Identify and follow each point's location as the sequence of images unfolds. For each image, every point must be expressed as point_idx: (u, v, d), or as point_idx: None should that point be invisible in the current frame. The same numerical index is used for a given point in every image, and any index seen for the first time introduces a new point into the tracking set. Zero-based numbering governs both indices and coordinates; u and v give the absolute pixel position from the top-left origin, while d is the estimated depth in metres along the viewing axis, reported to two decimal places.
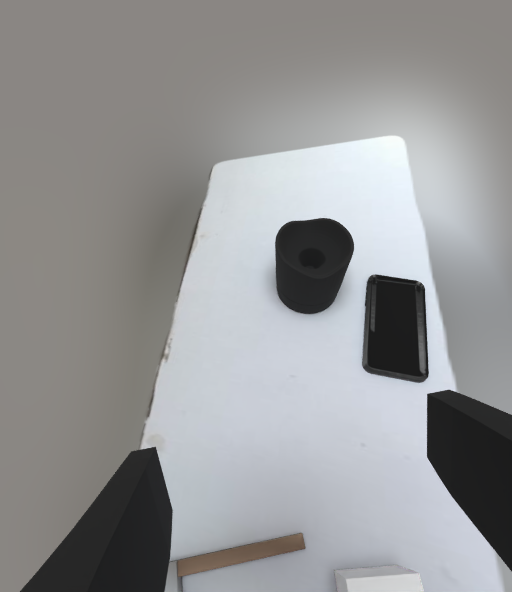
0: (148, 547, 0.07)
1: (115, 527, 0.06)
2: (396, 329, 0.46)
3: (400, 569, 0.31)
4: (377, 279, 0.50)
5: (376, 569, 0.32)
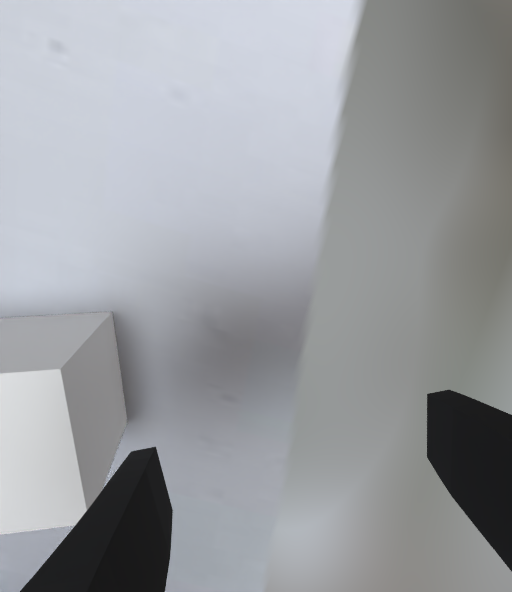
0: (148, 547, 0.07)
1: (115, 527, 0.06)
2: None
3: (73, 336, 0.13)
4: None
5: (38, 328, 0.14)
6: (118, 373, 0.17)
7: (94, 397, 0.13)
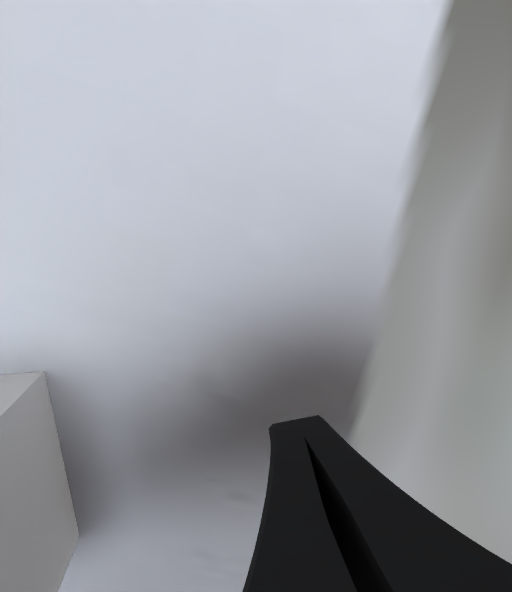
0: None
1: (316, 485, 0.06)
2: None
3: None
4: None
5: None
6: (58, 470, 0.10)
7: None
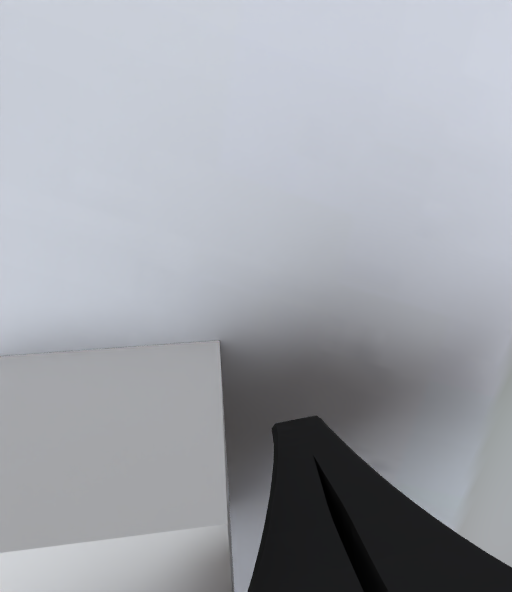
0: None
1: (320, 484, 0.06)
2: None
3: (191, 403, 0.07)
4: None
5: (114, 380, 0.08)
6: (225, 438, 0.10)
7: None
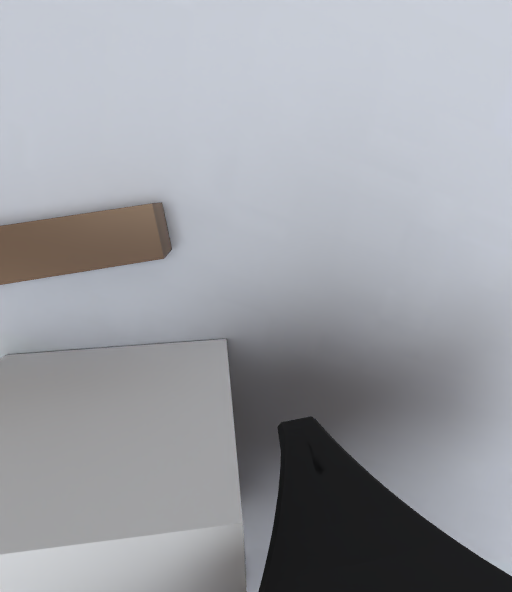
0: None
1: (328, 482, 0.06)
2: None
3: (200, 402, 0.07)
4: None
5: (122, 379, 0.08)
6: None
7: None
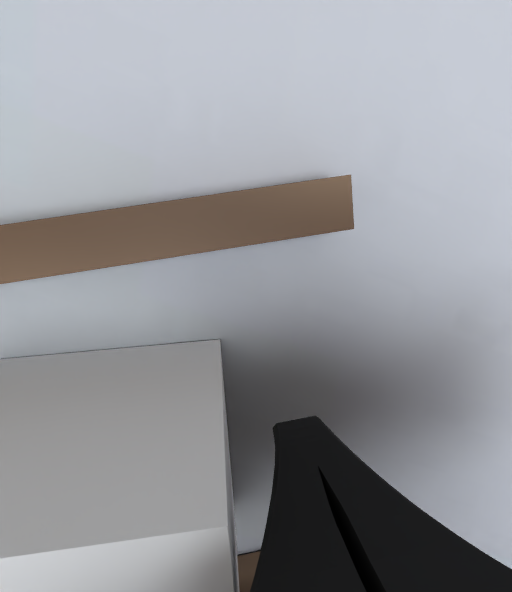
0: None
1: (322, 484, 0.06)
2: None
3: (191, 404, 0.07)
4: None
5: (114, 382, 0.08)
6: None
7: None
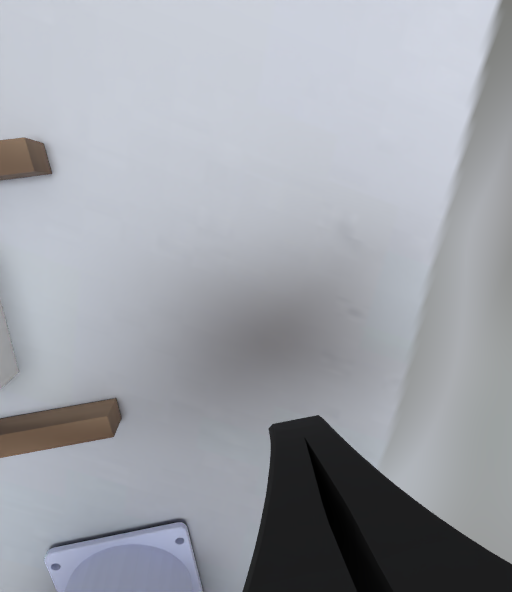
0: None
1: (316, 485, 0.06)
2: None
3: None
4: None
5: None
6: None
7: None
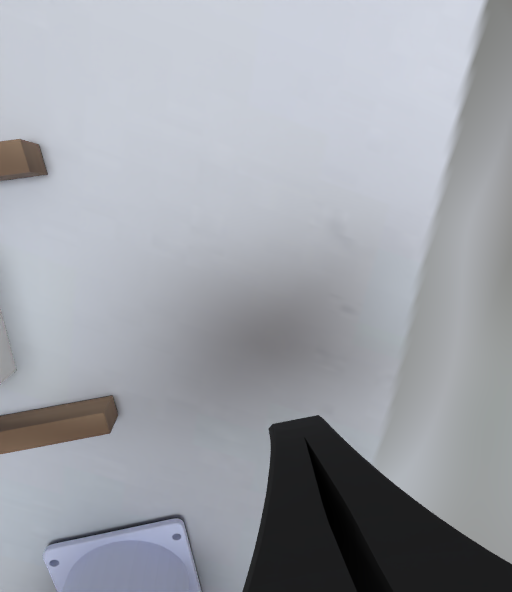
0: None
1: (316, 485, 0.06)
2: None
3: None
4: None
5: None
6: None
7: None
